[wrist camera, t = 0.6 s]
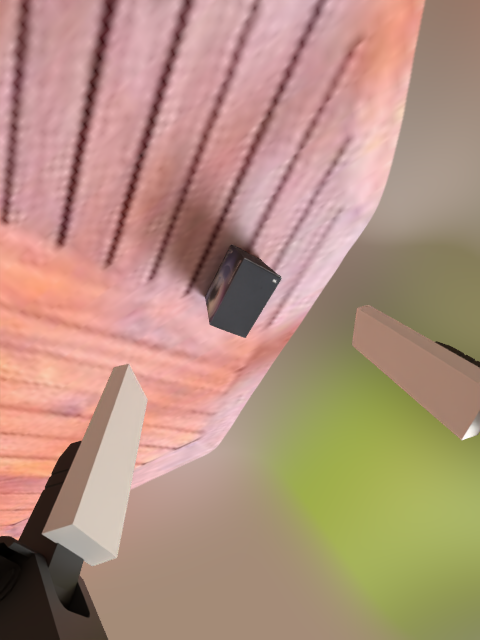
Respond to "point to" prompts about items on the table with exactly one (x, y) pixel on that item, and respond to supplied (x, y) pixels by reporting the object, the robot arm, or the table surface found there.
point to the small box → (239, 292)
